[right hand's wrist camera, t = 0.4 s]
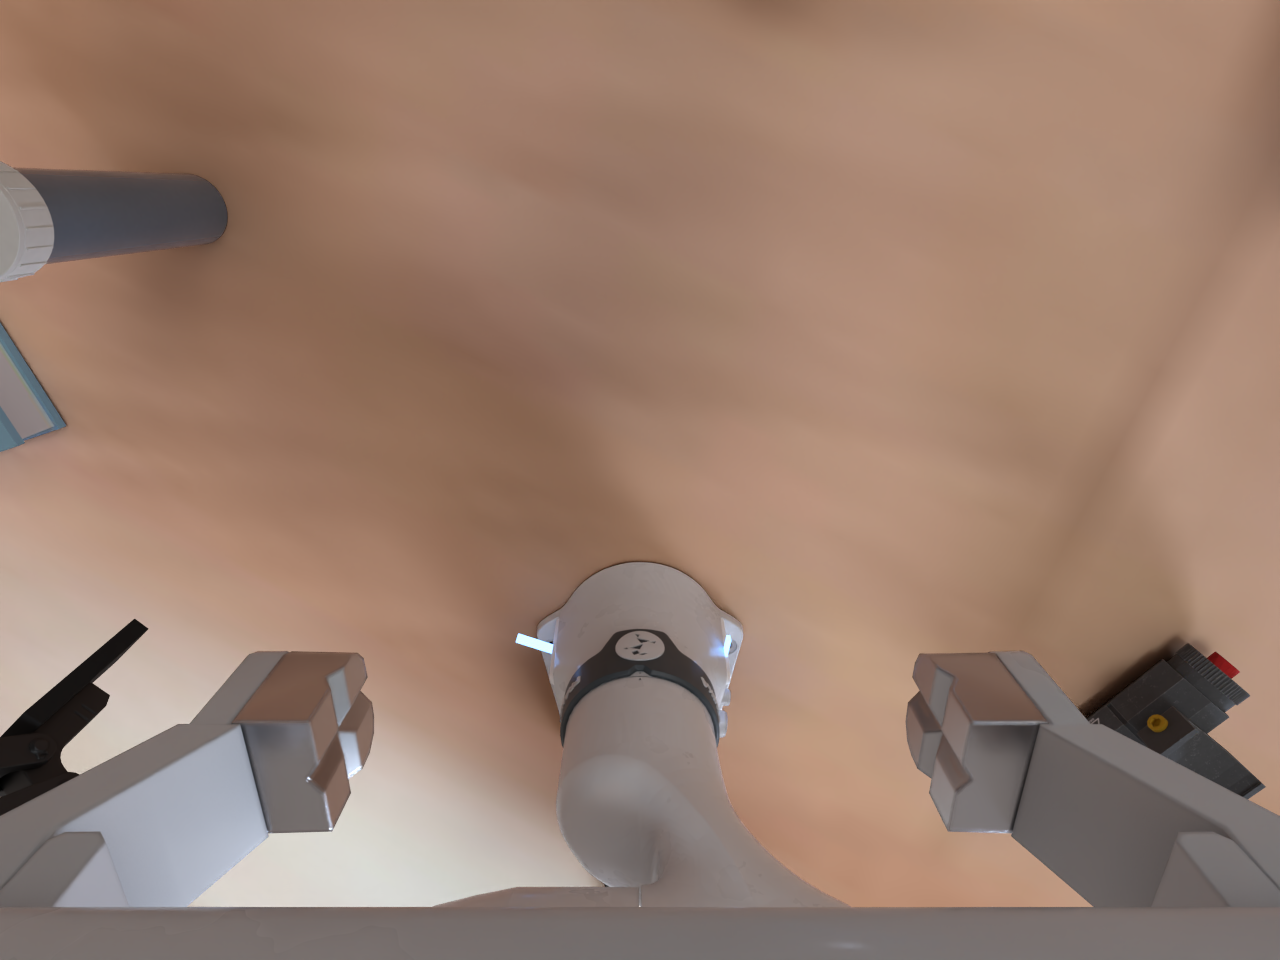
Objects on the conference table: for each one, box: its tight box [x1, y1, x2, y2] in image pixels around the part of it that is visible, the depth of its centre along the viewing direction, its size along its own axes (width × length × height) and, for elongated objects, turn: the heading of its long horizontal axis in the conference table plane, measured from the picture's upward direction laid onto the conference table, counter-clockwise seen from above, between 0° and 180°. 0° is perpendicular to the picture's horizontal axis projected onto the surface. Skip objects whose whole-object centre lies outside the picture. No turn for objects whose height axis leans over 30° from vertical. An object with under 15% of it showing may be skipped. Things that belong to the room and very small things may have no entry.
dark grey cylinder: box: [13, 168, 227, 264], centre depth 44 cm, size 5×5×20 cm
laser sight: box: [1087, 644, 1266, 799], centre depth 66 cm, size 10×22×10 cm, turn 141°
